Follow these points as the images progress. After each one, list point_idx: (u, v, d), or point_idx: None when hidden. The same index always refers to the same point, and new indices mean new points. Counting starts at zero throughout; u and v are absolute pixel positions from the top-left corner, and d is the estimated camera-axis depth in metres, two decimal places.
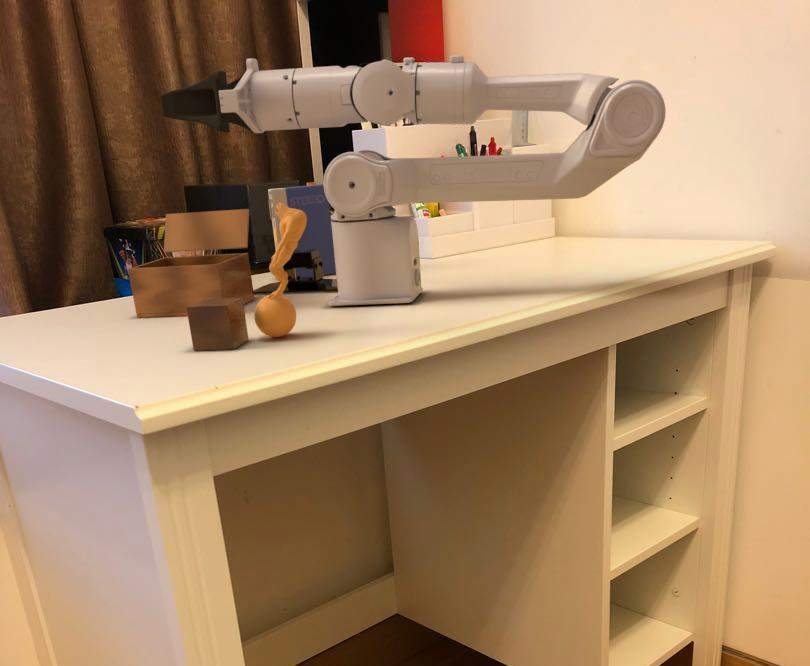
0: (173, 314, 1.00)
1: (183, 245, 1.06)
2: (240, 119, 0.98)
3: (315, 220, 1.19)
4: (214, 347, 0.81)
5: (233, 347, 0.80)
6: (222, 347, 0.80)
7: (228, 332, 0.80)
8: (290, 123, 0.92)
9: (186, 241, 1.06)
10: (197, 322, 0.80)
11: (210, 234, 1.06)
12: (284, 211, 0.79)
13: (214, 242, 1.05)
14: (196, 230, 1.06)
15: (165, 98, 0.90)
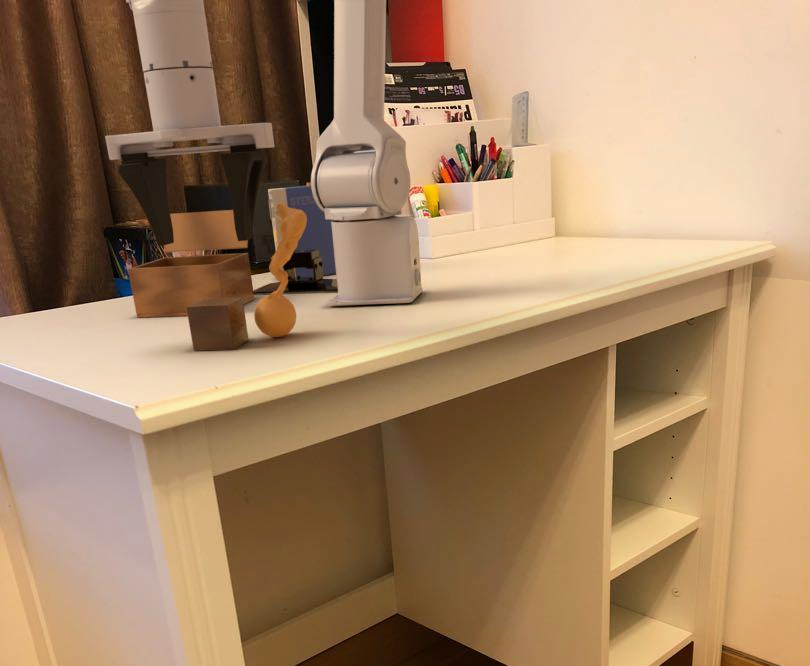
0: (173, 314, 1.00)
1: (183, 245, 1.06)
2: (163, 175, 0.78)
3: (315, 220, 1.19)
4: (214, 347, 0.81)
5: (233, 347, 0.80)
6: (222, 347, 0.80)
7: (228, 332, 0.80)
8: None
9: (186, 241, 1.06)
10: (197, 322, 0.80)
11: (210, 234, 1.06)
12: (284, 211, 0.79)
13: (214, 242, 1.05)
14: (196, 230, 1.06)
15: (246, 233, 0.77)
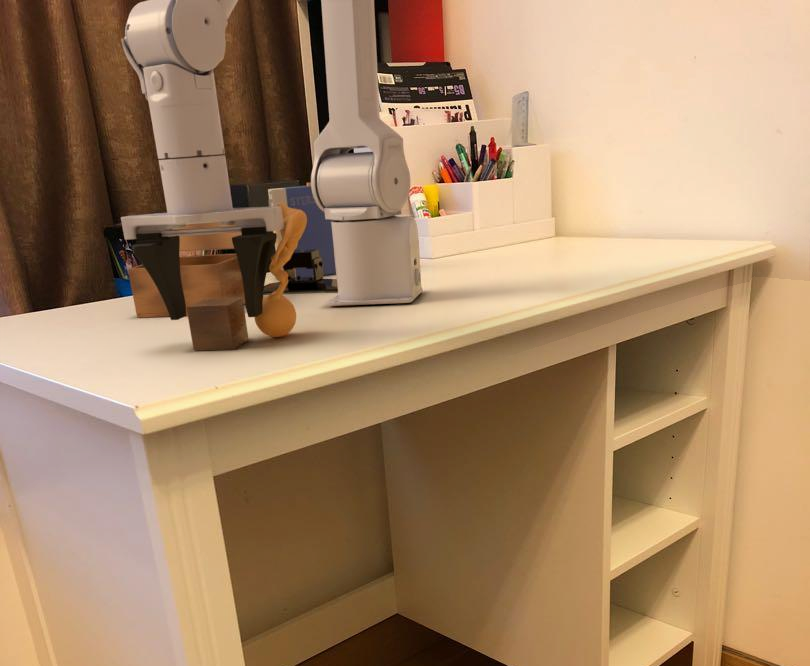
0: None
1: (183, 245, 1.06)
2: (176, 252, 0.81)
3: (315, 220, 1.19)
4: (214, 347, 0.81)
5: (233, 347, 0.80)
6: (222, 347, 0.80)
7: (228, 332, 0.80)
8: None
9: (186, 241, 1.06)
10: (197, 322, 0.80)
11: (210, 234, 1.06)
12: (284, 211, 0.79)
13: (214, 242, 1.05)
14: None
15: (256, 310, 0.80)
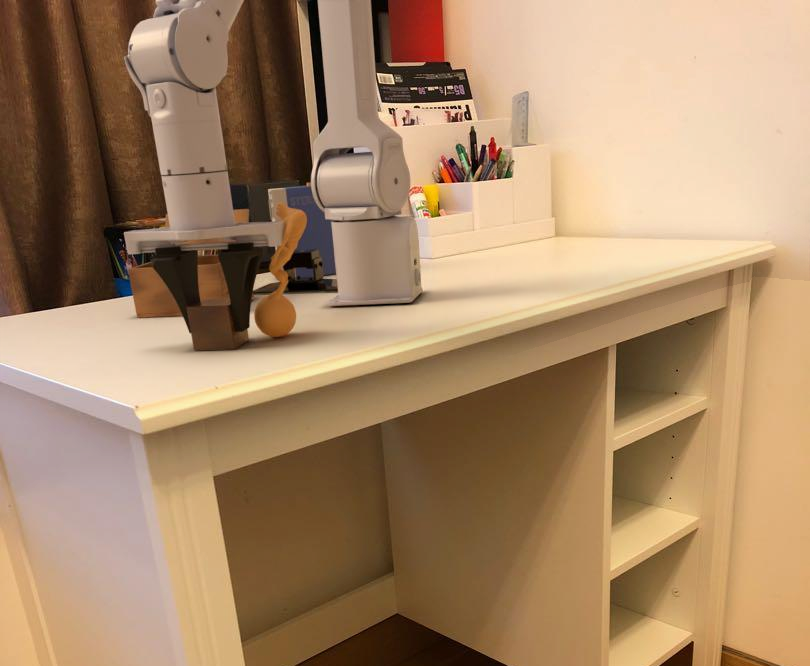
0: (173, 314, 1.00)
1: None
2: (194, 265, 0.81)
3: (315, 220, 1.19)
4: (214, 347, 0.81)
5: (233, 347, 0.80)
6: (222, 347, 0.80)
7: (229, 332, 0.80)
8: None
9: None
10: (197, 322, 0.80)
11: None
12: (284, 211, 0.79)
13: None
14: None
15: (243, 324, 0.81)
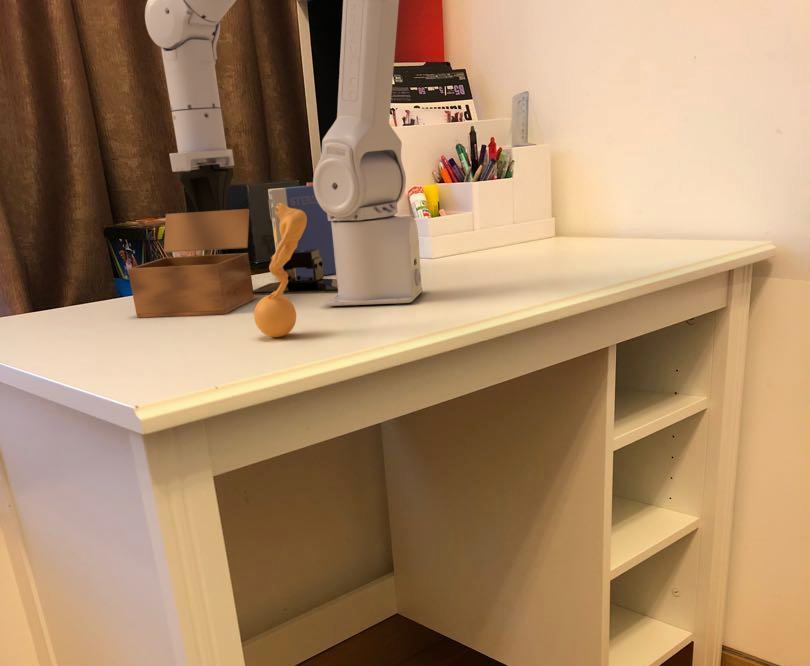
0: (173, 314, 1.00)
1: (183, 245, 1.06)
2: None
3: (315, 220, 1.19)
4: None
5: None
6: None
7: None
8: (210, 116, 1.01)
9: (186, 241, 1.06)
10: None
11: (210, 234, 1.06)
12: (284, 211, 0.79)
13: (214, 242, 1.05)
14: (196, 230, 1.06)
15: None
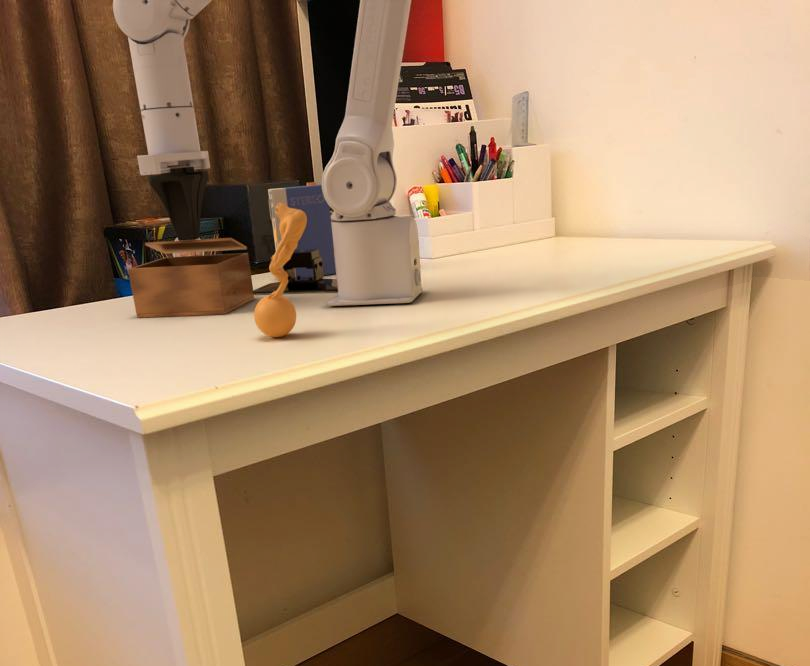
0: (173, 314, 1.00)
1: (181, 251, 1.06)
2: None
3: (315, 220, 1.19)
4: None
5: None
6: None
7: None
8: (181, 115, 0.94)
9: (182, 250, 1.05)
10: None
11: (203, 248, 1.04)
12: (284, 211, 0.79)
13: (211, 249, 1.05)
14: (186, 247, 1.04)
15: (180, 235, 1.01)
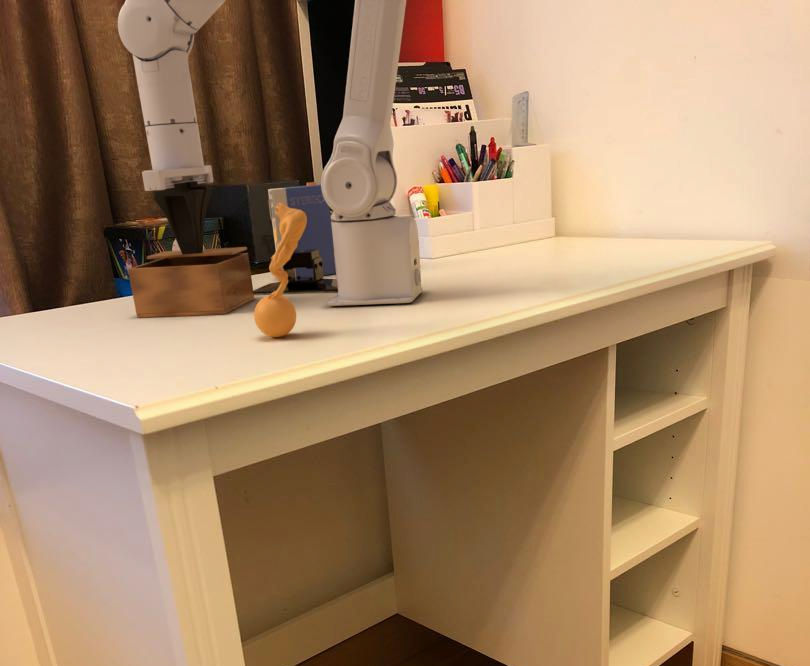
0: (173, 314, 1.00)
1: None
2: None
3: (315, 220, 1.19)
4: None
5: None
6: None
7: None
8: (185, 131, 0.95)
9: None
10: None
11: None
12: (284, 211, 0.79)
13: None
14: None
15: (183, 249, 1.02)
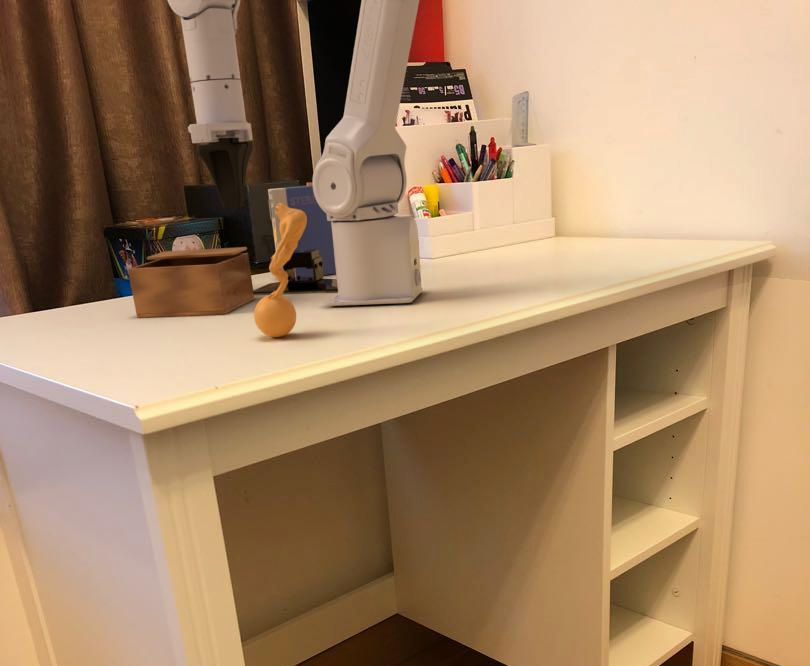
0: (173, 314, 1.00)
1: None
2: None
3: (315, 220, 1.19)
4: None
5: None
6: None
7: None
8: (230, 87, 0.99)
9: None
10: None
11: None
12: (284, 211, 0.79)
13: None
14: None
15: (225, 203, 1.06)
